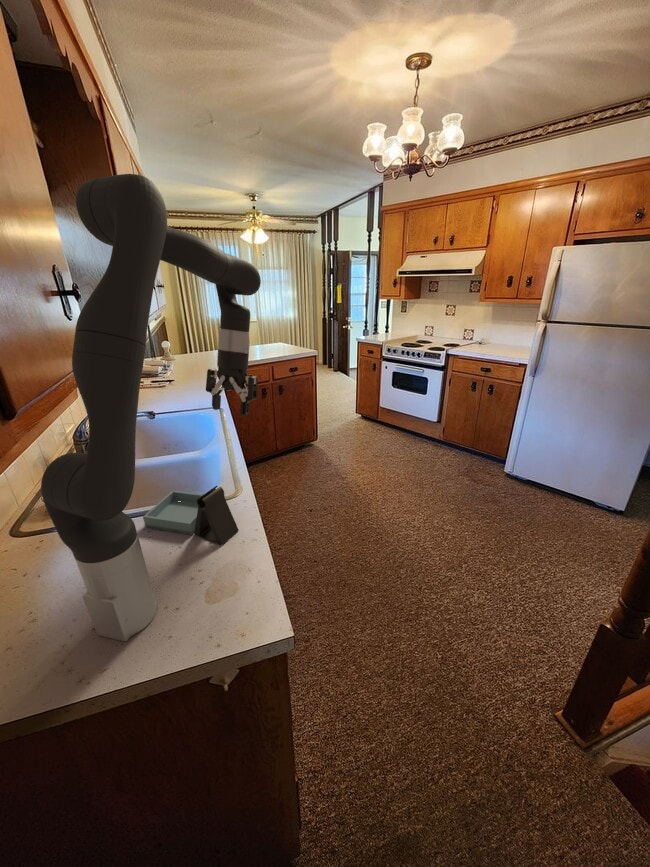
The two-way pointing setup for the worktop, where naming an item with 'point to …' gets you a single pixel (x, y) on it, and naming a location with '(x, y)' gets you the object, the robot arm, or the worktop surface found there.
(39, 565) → the worktop surface
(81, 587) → the worktop surface
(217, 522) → the phone stand
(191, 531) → the slate tray
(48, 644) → the worktop surface
